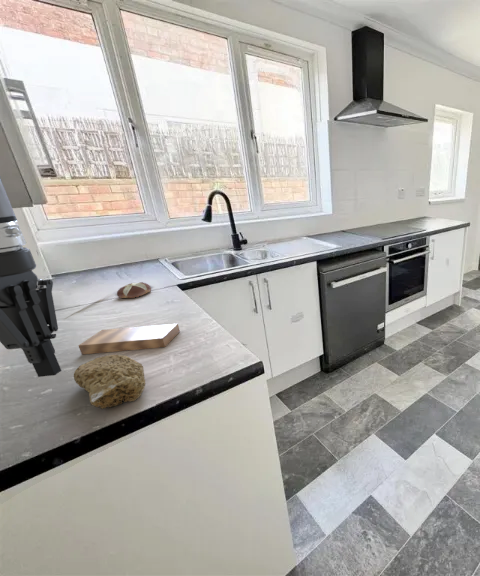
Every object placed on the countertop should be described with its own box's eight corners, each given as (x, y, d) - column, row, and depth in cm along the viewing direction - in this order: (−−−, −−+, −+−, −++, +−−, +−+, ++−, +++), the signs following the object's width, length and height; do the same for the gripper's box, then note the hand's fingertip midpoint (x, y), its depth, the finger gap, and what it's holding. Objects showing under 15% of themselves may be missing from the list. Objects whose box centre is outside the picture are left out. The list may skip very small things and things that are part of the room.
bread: (156, 290, 141) (153, 279, 139) (137, 299, 130) (133, 288, 129) (133, 290, 141) (129, 279, 140) (111, 299, 131) (107, 288, 129)
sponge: (155, 399, 72) (143, 351, 85) (139, 377, 67) (129, 330, 80) (84, 434, 65) (82, 376, 78) (61, 413, 61) (63, 355, 73)
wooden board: (81, 354, 89) (78, 345, 88) (105, 338, 98) (102, 329, 97) (165, 347, 92) (162, 338, 91) (180, 331, 102) (177, 323, 101)
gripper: (-21, 257, 44) (43, 393, 52) (54, 241, 57) (97, 353, 64) (-84, 261, 43) (-9, 399, 51) (6, 243, 55) (55, 357, 63)
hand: (50, 373), depth 58 cm, fingers closed
